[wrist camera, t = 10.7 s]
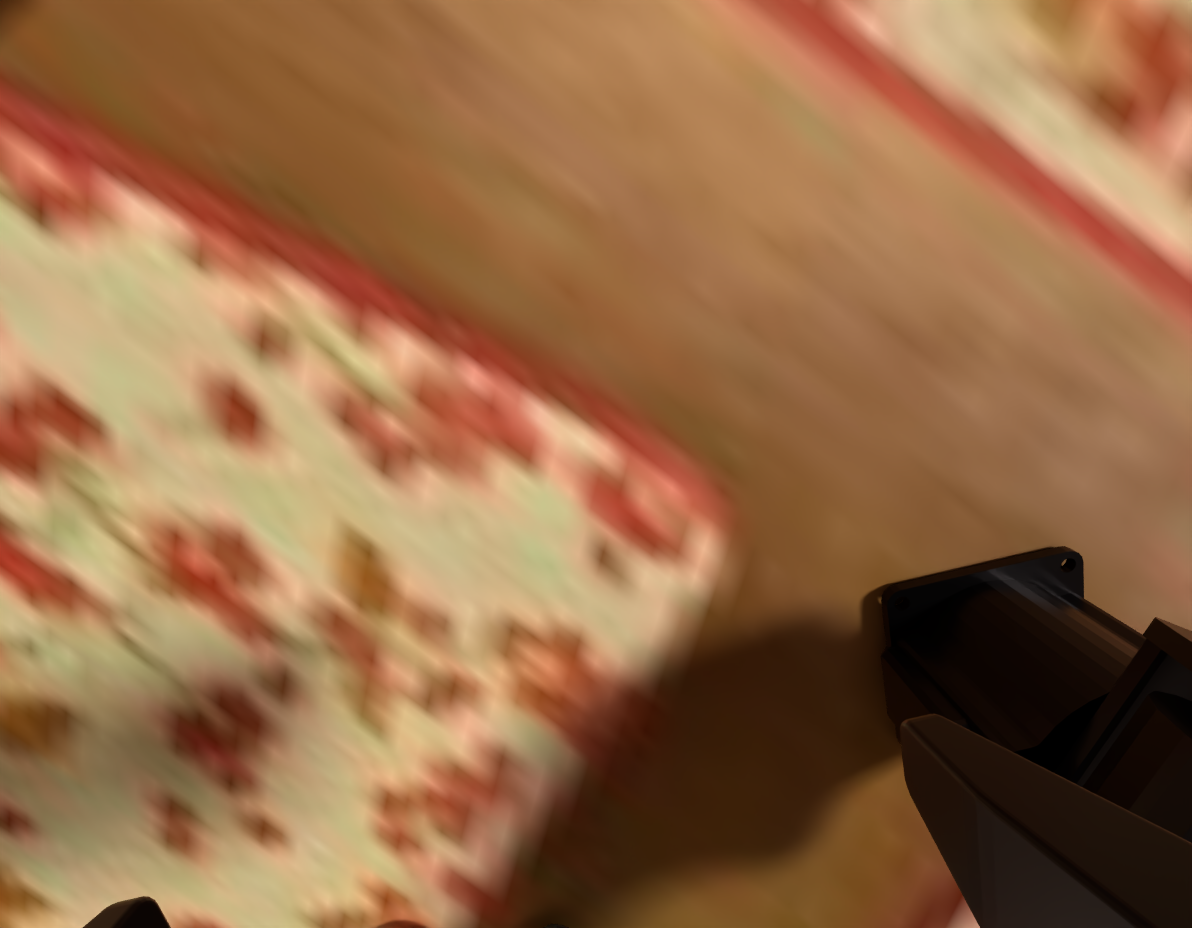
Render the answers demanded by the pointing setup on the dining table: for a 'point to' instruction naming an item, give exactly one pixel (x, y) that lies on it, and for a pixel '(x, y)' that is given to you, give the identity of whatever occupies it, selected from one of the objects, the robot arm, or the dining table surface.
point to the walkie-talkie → (555, 926)
